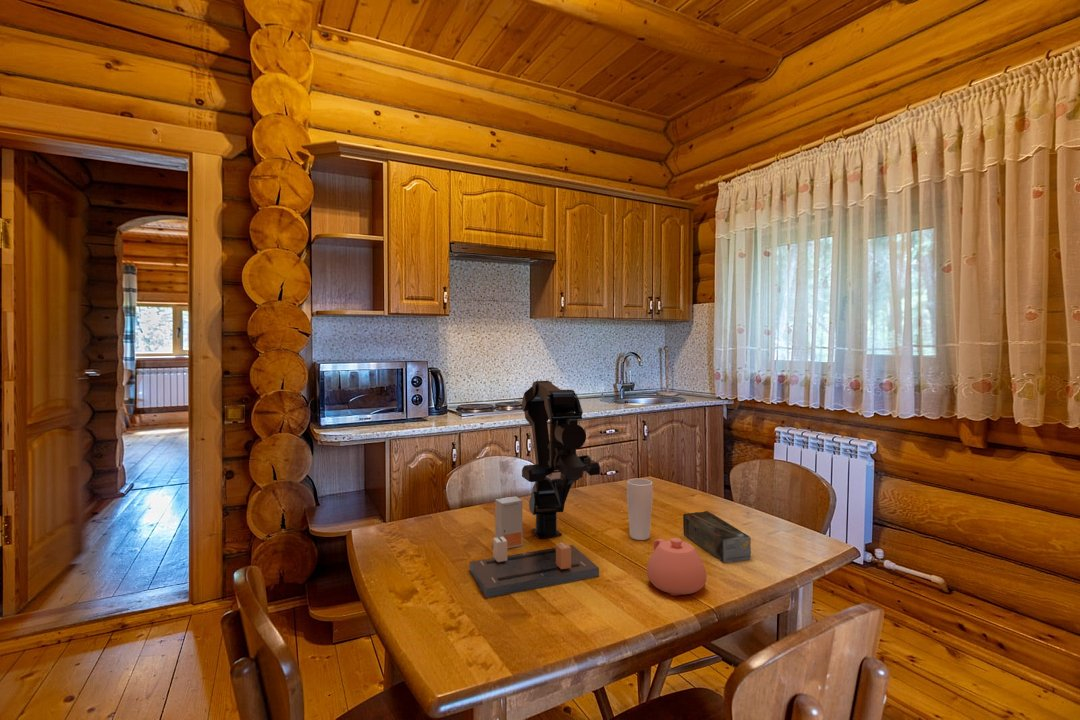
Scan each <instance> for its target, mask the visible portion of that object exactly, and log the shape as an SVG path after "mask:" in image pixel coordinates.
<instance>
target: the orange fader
mask: <svg viewBox="0 0 1080 720" xmlns="http://www.w3.org/2000/svg"><path fill="white" fill-rule="evenodd" d="M555 548H556V565H557V566H558V567H559V568H560V569H567V568H571V547H570V546H569V544H568V543H567V542H560V543H556V544H555Z"/></svg>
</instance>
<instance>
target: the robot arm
mask: <svg viewBox="0 0 1080 720" xmlns="http://www.w3.org/2000/svg"><path fill="white" fill-rule="evenodd" d="M521 408H522V409H521V410H522V412H524V417H525V418H524V419H525V420H526V421H527V423H528V424H529V425H530V427H531V432H532V439H533V442H532V443H533V450H534V458H535V464H526V465H525V464H524V465H523V467H522V469H521V477H522V478H523V479H525V480H526V481H528V482H529V483H534V484H533V486H532V492H531V495H530V498H529V501H528V506H529V511H530V512H531V514H532V515H534V516H535V528H531V533H533V534H534V535H535V536H536V537H537V538H538V539H548V538H553V537H558V536H562V532H561V531H559V530H558V519H557V517H558V513H564V509H565V505H566V504H565V503H566V502H567V501H566V500H567V498H568V495H569V492H570V489H571V488H572V486H573V484H574V483H575V482H577V481H579V480H580V479H582V478H583V476H584V472H586V473H587V475H589V476H599V475H601V472H602V471H601V469H602V468H601V465H600V463H599V462H597V461H595V460H593V459H591V456H590V455H589V454H584V455H579V456H578V454H577V450H578V449H580V448H581V447H583V445H584V444H585V442H586V441H587V434H586V431H585V429H584V427H582V426H581V425H579V424H578V423H579V421H578V420H582V419H583V416H582V415H583V408H582V406H581V401H580V399H579V397H578V394H577V393H576V392H575V390H573V389H561V388H559V387H558V386H556V385H555V384H553V382H552V381H550V380H535V381H533V382H532V386H530V387H529V388H528V389H527V390H526V391H524V393H523V396H522V400H521ZM548 422H549V427H548Z"/></svg>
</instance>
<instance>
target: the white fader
mask: <svg viewBox="0 0 1080 720" xmlns="http://www.w3.org/2000/svg"><path fill="white" fill-rule="evenodd" d="M492 541H493V542H492V543H493V545H492V546H493V547H492V548H493V553H492V554H493V558H495V560H496V561H497V562H501V561H507V556H508V549H507V540H506V539H505V538H504V537H497V538H495V537H493V538H492Z"/></svg>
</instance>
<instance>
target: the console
mask: <svg viewBox="0 0 1080 720" xmlns="http://www.w3.org/2000/svg"><path fill="white" fill-rule="evenodd" d="M568 545H569V544H568ZM569 546H570V547H571V568H567V569H560V568H559V567H558V566H557V565H556V547H551V548H547V549H545V548H544V549H540V550H533V551H527V552H521V553H516V554H509V555H508V554H507V561H501V562H497V561H496V560H495V558H494V557H490V558H486V559H479V560H473V561H469V563H468V564H469V566H468V567H469V572H470V573H471V576H472V577H473V579H474V581H475V582H476V584H477V585H478V588H479V589H480V591H481V592H482V593H483V596H484V597H485V599H489V598H490V599H491V598H494V597H499V596H504V595H505V596H506V595H510V594H516V593H521V592H527V591H529V590H530V591H531V590H535V589H540V588H545V587H552V586H556V585H561V584H562V585H563V584H568V583H572V582H578V581H582V580H588V579H594V578H598V577H600V567H599V566H597V564H595V563H594V562H593V561H592V560H591V559H589V558H588V557H587V556H586V555H585V554H583V552H581V550H579V549H578V548H576V547H575V546H574V545H573V544H570V545H569Z"/></svg>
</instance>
